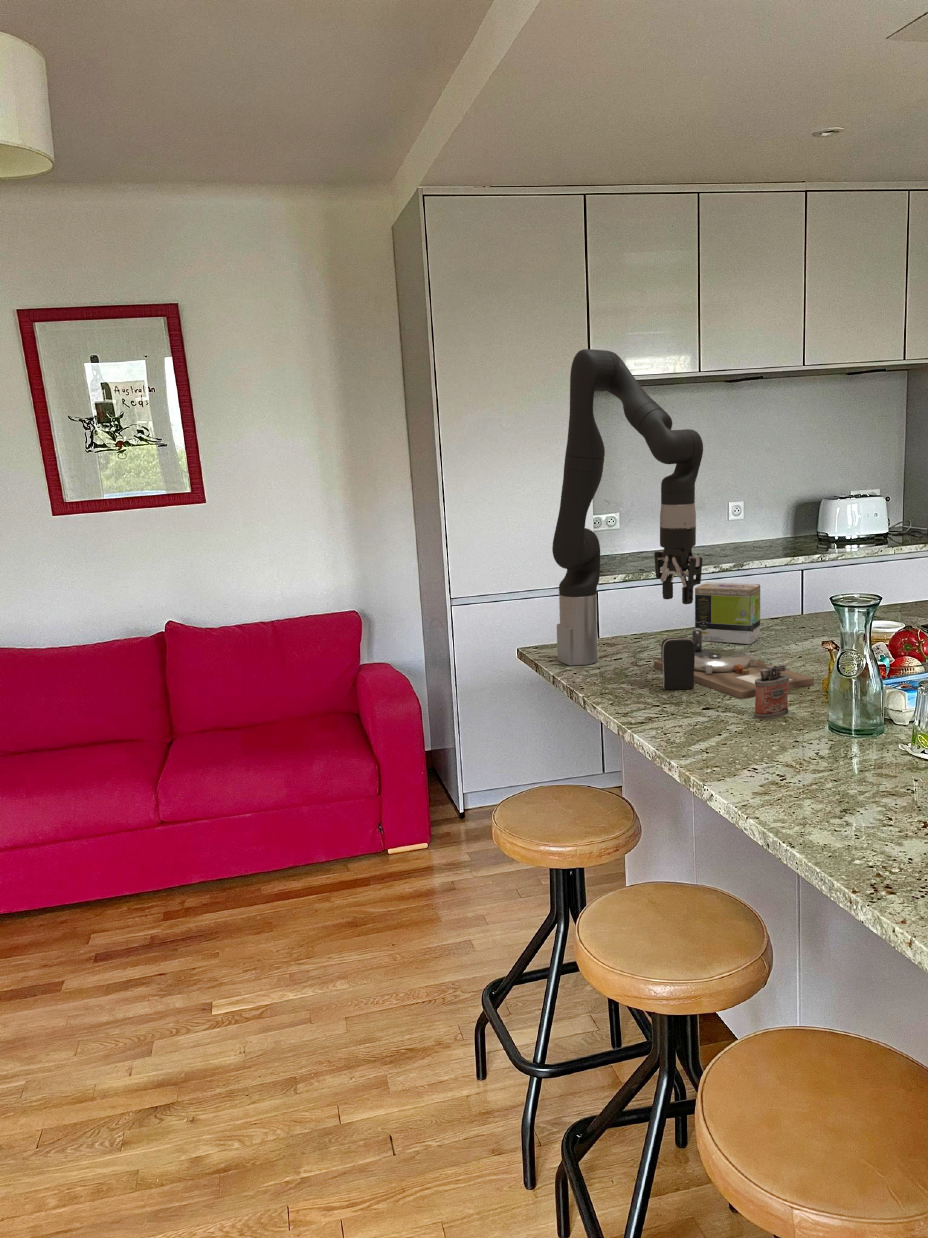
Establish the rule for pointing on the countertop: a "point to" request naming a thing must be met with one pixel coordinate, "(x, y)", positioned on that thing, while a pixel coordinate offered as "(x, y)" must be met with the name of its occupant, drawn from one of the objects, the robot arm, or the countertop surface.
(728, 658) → the sprocket
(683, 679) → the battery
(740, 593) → the tea box
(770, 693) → the lighter
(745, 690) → the board
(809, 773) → the countertop surface
